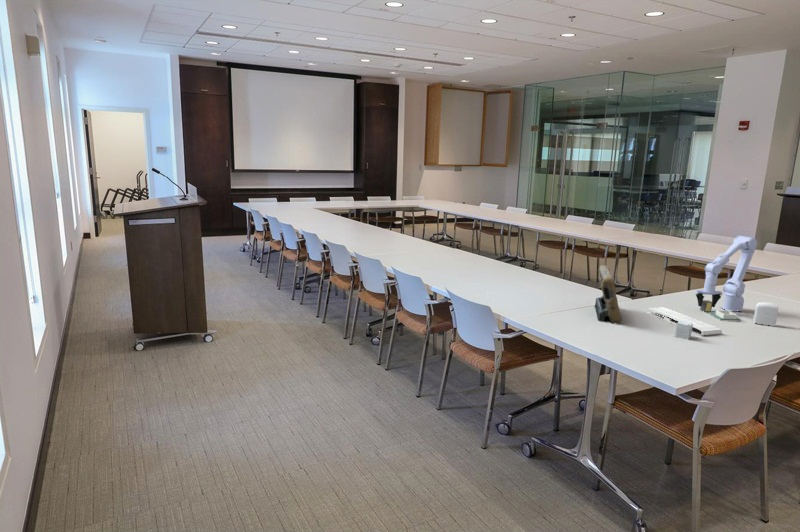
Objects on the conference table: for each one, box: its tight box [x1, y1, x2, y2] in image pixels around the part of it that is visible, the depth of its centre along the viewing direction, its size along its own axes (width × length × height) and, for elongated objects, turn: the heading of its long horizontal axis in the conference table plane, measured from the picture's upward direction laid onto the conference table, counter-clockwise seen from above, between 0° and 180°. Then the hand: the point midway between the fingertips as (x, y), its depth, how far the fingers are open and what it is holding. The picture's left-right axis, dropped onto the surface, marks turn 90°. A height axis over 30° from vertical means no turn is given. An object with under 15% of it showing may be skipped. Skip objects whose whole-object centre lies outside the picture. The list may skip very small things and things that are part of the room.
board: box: [708, 309, 742, 321], centre depth 293 cm, size 11×12×4 cm
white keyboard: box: [645, 306, 723, 337], centre depth 280 cm, size 12×4×40 cm
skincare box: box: [674, 320, 694, 341], centre depth 258 cm, size 6×6×7 cm
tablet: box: [594, 264, 622, 325], centre depth 287 cm, size 33×14×25 cm, turn 169°
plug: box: [699, 299, 713, 313], centre depth 303 cm, size 4×4×6 cm
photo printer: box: [752, 301, 779, 327], centre depth 282 cm, size 10×4×12 cm, turn 66°
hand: (706, 306), depth 303 cm, fingers open, 7 cm apart
